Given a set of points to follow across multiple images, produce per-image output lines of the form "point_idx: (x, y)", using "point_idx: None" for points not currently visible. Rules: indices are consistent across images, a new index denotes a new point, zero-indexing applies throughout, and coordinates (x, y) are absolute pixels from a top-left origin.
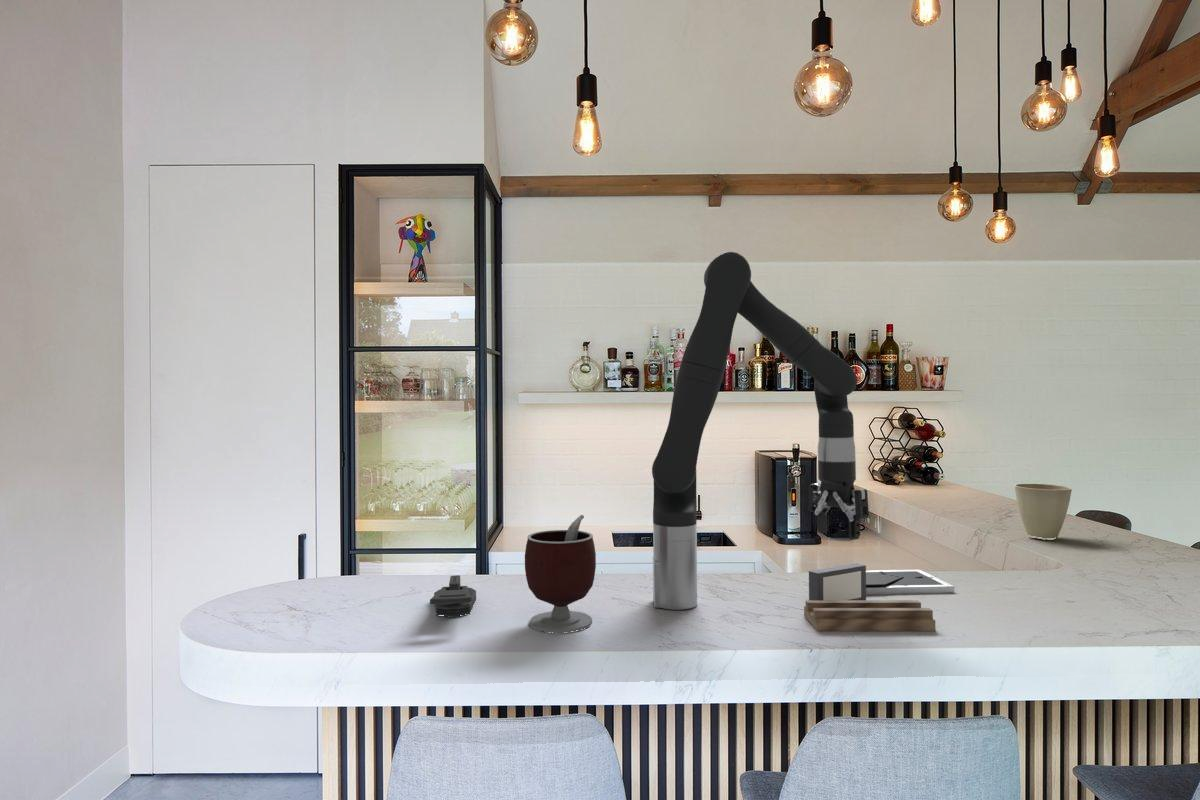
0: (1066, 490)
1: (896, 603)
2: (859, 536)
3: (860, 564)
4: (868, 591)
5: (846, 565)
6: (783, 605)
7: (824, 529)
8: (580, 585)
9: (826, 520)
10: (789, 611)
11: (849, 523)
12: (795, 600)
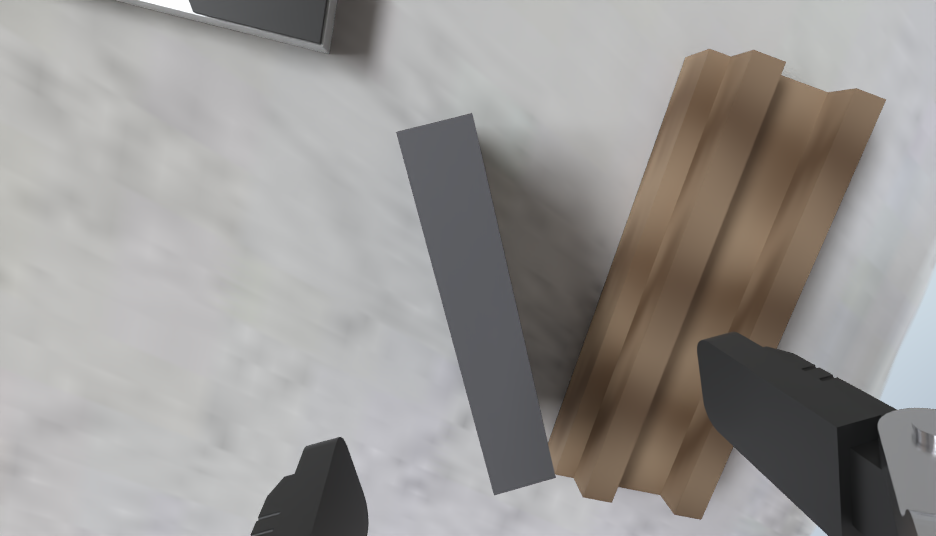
0: None
1: (740, 171)
2: (765, 347)
3: (440, 132)
4: (332, 20)
5: (439, 236)
6: (403, 461)
7: (347, 487)
8: None
9: (319, 533)
10: (477, 471)
11: (833, 524)
12: (350, 392)
